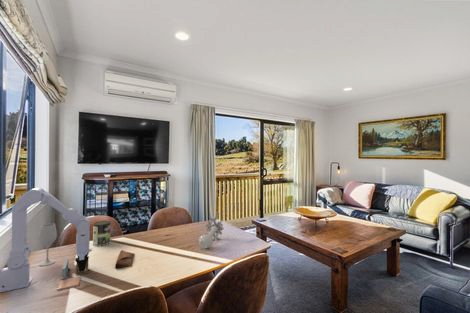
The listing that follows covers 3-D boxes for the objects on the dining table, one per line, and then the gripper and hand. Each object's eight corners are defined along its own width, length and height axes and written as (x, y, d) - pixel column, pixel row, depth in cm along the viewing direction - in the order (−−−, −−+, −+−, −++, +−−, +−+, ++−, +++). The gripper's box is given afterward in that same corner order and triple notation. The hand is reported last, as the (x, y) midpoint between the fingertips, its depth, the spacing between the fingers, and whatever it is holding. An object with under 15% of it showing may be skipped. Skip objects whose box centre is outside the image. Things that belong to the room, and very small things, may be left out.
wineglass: (41, 261, 125) (42, 223, 125) (58, 258, 128) (58, 222, 128) (35, 267, 118) (36, 227, 118) (53, 264, 121) (54, 226, 121)
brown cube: (75, 274, 111) (76, 264, 111) (76, 270, 115) (76, 260, 115) (87, 272, 114) (88, 262, 114) (88, 268, 118) (88, 258, 118)
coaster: (56, 290, 98) (56, 289, 98) (59, 282, 104) (59, 280, 104) (78, 285, 102) (79, 284, 102) (80, 277, 109) (80, 276, 109)
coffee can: (113, 240, 157) (113, 220, 157) (104, 246, 147) (104, 225, 147) (98, 240, 157) (99, 220, 157) (89, 246, 147) (89, 224, 147)
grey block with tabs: (59, 281, 105) (60, 269, 105) (63, 270, 116) (63, 259, 116) (67, 279, 107) (67, 267, 107) (70, 268, 117) (70, 258, 117)
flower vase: (210, 260, 144) (224, 237, 167) (213, 236, 139) (226, 216, 162) (192, 254, 147) (208, 232, 170) (194, 230, 142) (210, 211, 165)
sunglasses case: (132, 266, 120) (125, 256, 119) (120, 275, 118) (113, 265, 117) (134, 253, 137) (128, 244, 136) (123, 260, 135) (117, 251, 134)
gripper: (91, 245, 111) (91, 272, 110) (92, 236, 123) (91, 261, 123) (74, 248, 107) (73, 276, 107) (76, 238, 119) (76, 264, 119)
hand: (82, 268), depth 114 cm, fingers closed on brown cube, 5 cm apart
